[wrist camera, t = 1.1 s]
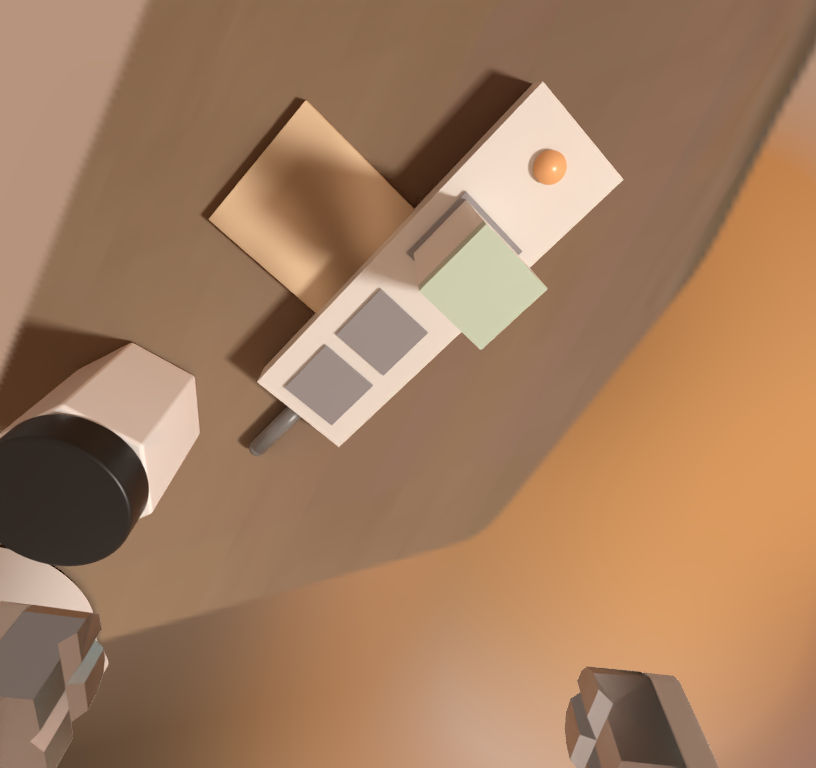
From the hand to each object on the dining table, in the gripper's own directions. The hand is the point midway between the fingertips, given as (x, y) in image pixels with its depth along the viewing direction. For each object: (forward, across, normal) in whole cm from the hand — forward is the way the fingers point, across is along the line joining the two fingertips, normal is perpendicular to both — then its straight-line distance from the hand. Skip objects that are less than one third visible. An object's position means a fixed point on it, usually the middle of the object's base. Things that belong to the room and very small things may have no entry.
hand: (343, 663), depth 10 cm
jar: (+29, +16, +12) cm, 36 cm away
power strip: (+30, 0, +3) cm, 30 cm away
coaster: (+30, +5, -2) cm, 30 cm away
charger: (+27, -4, -1) cm, 28 cm away
